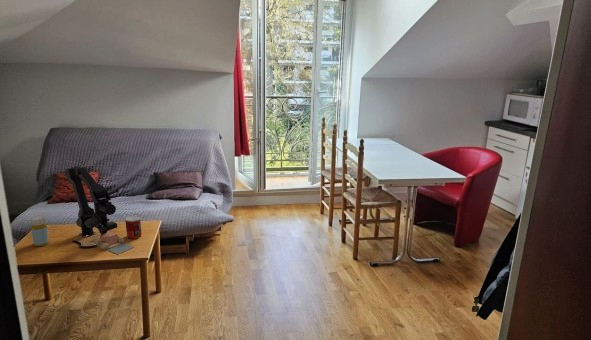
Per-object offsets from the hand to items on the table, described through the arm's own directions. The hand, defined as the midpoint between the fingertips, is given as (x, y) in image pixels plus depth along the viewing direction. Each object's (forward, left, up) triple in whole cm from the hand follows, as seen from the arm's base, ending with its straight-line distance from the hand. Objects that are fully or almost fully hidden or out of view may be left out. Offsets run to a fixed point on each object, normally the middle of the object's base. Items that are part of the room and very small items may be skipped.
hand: (103, 237), depth 223 cm
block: (+5, 0, -3) cm, 6 cm away
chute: (+4, 0, -3) cm, 5 cm away
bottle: (-25, -20, -3) cm, 32 cm away
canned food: (+7, +14, -3) cm, 16 cm away
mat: (+15, 0, -3) cm, 15 cm away
